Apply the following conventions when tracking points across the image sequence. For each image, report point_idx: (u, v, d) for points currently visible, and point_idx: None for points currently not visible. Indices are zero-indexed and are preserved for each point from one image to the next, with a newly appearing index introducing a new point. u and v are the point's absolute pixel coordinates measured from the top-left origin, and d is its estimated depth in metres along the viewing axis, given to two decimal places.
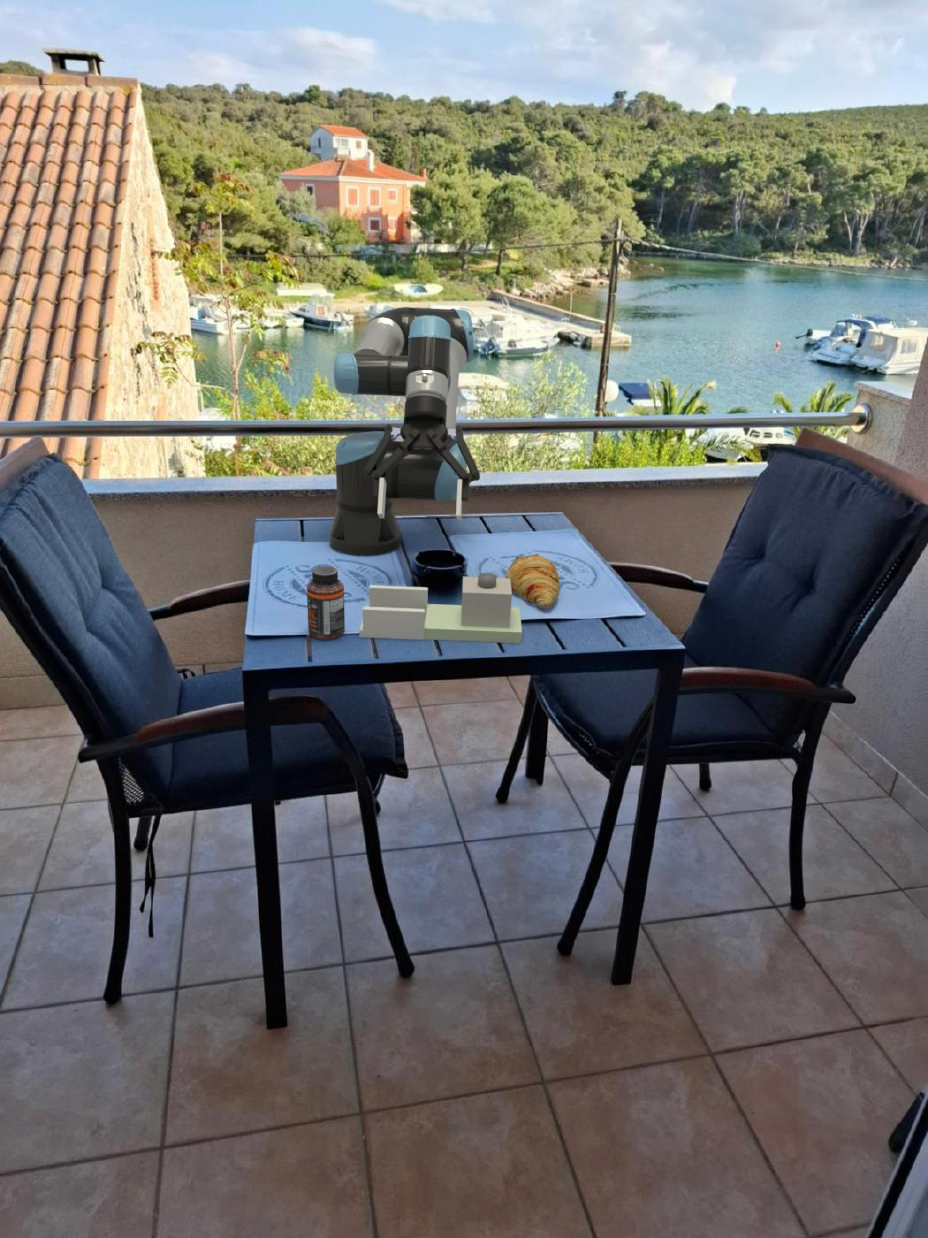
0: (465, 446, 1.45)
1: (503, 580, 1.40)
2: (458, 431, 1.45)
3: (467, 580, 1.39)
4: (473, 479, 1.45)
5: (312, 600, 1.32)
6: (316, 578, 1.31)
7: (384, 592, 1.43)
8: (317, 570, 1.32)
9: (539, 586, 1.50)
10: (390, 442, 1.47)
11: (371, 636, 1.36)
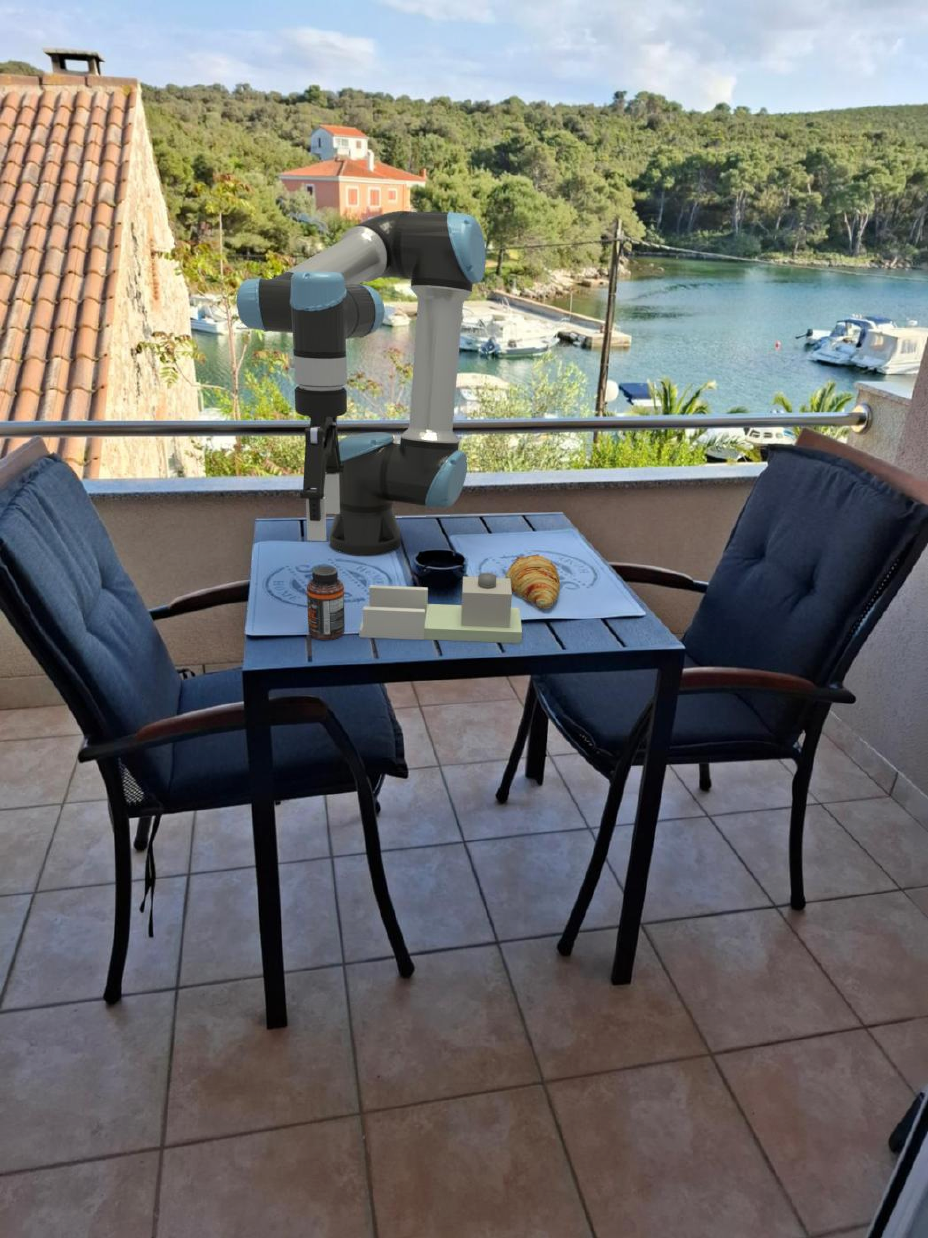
0: (305, 456, 1.18)
1: (503, 580, 1.40)
2: None
3: (467, 580, 1.39)
4: (312, 498, 1.18)
5: (312, 600, 1.32)
6: (316, 578, 1.31)
7: (384, 592, 1.43)
8: (317, 570, 1.32)
9: (539, 586, 1.50)
10: None
11: (371, 636, 1.36)
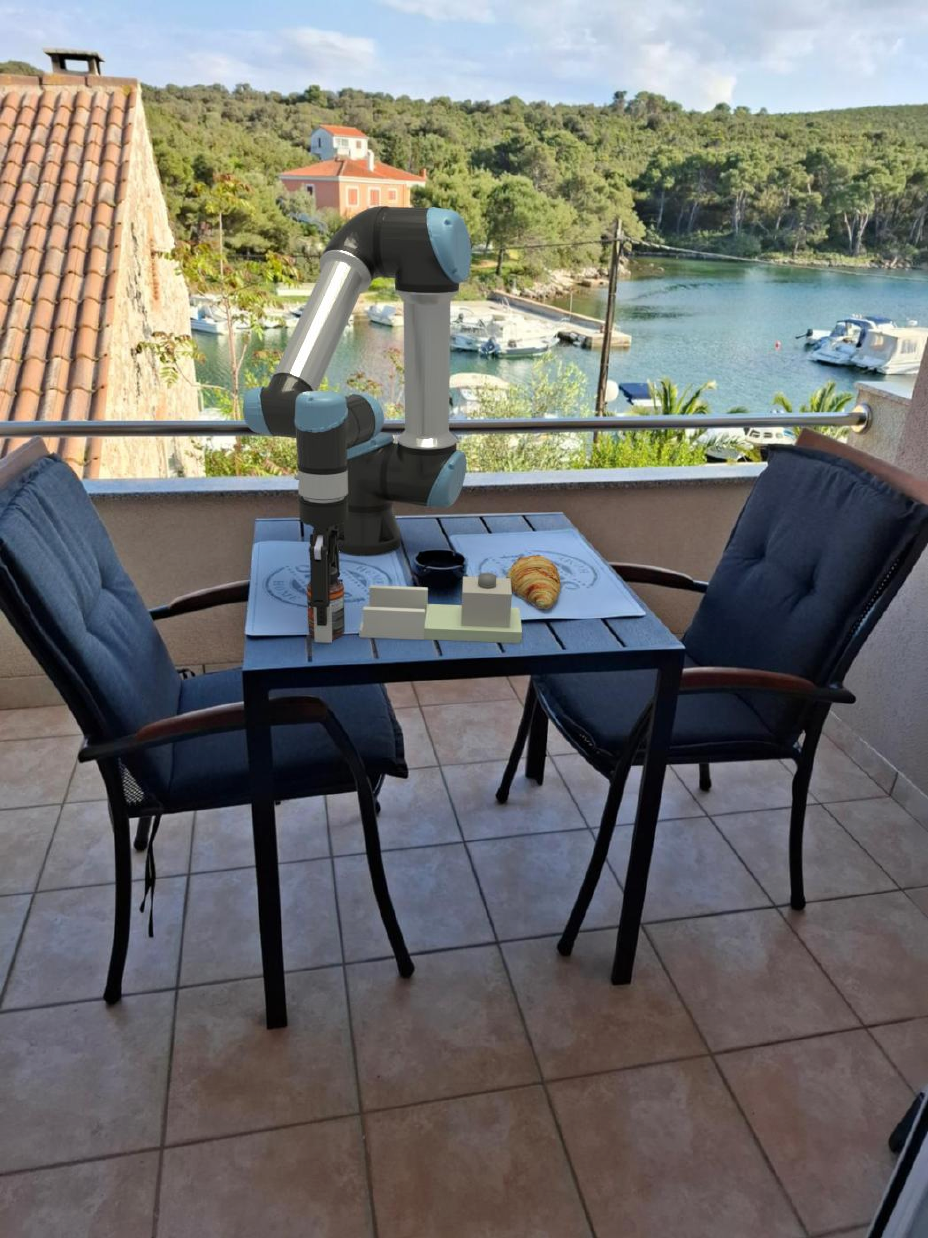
0: None
1: (503, 580, 1.40)
2: None
3: (467, 580, 1.39)
4: None
5: None
6: None
7: (384, 592, 1.43)
8: None
9: (539, 586, 1.50)
10: None
11: (371, 636, 1.36)
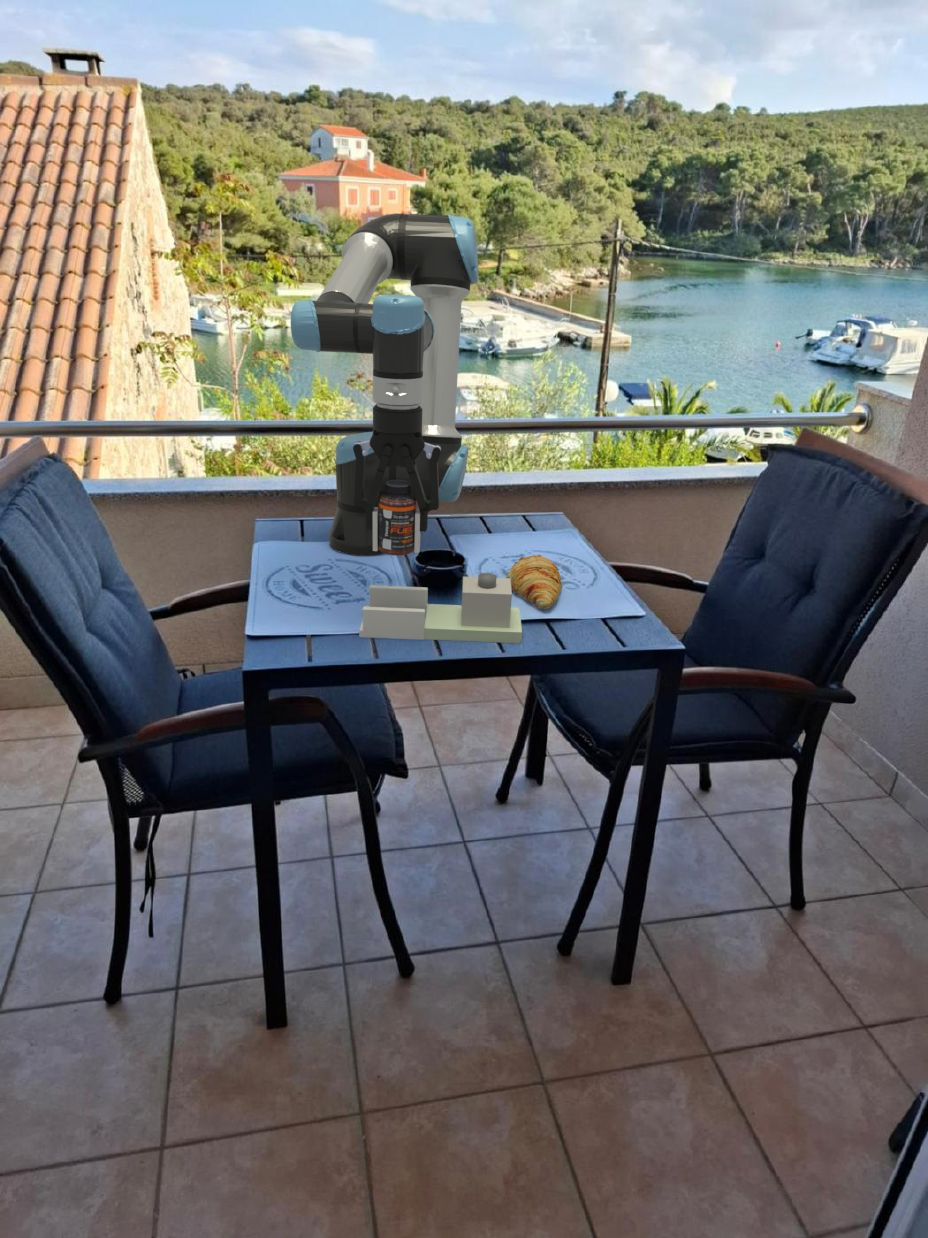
0: (435, 474, 1.29)
1: (503, 580, 1.40)
2: (434, 454, 1.28)
3: (467, 580, 1.39)
4: None
5: (411, 513, 1.31)
6: (408, 489, 1.30)
7: (384, 592, 1.43)
8: (399, 484, 1.30)
9: (539, 586, 1.50)
10: (364, 459, 1.29)
11: (371, 636, 1.36)
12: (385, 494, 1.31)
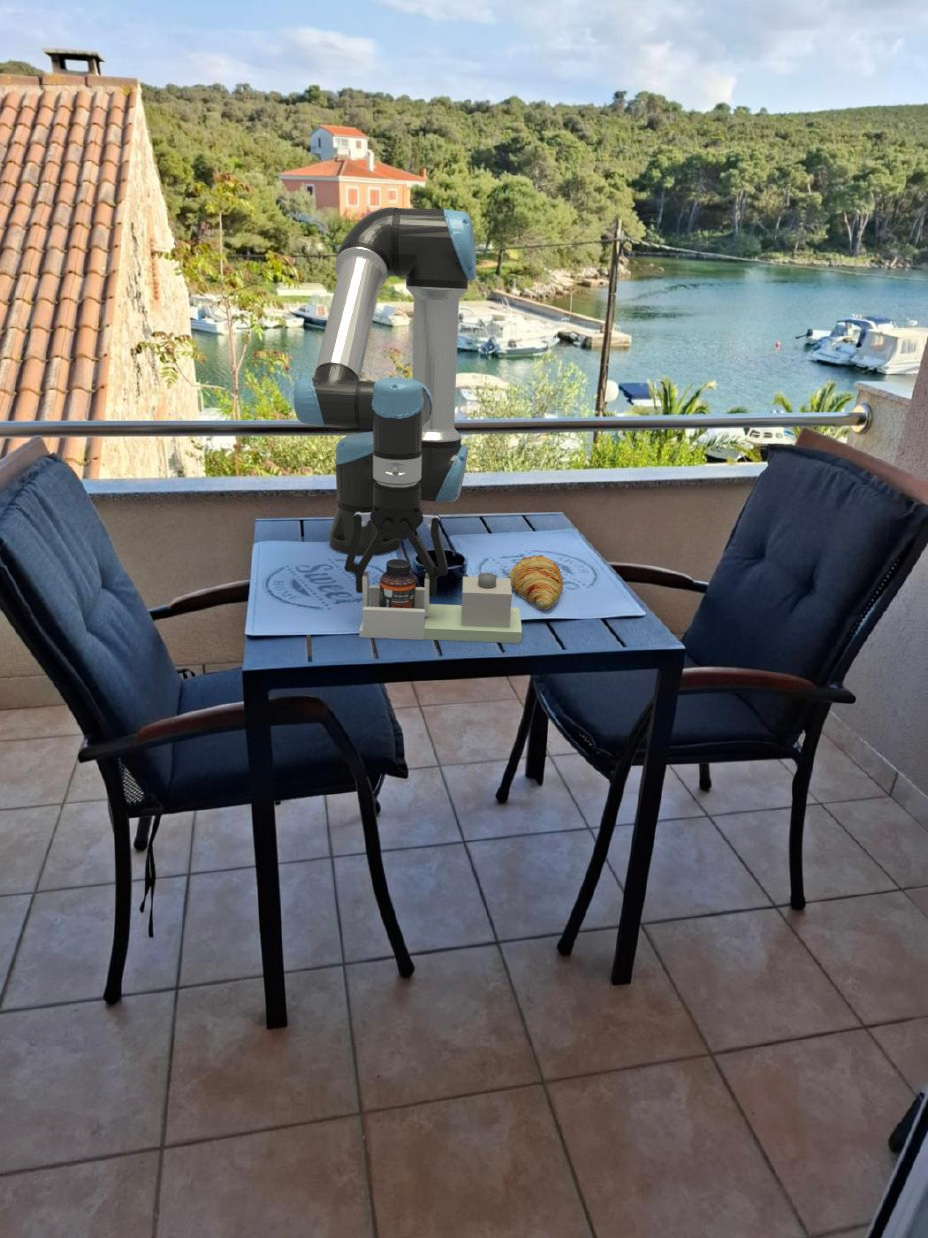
0: (438, 542, 1.34)
1: (503, 580, 1.40)
2: (434, 525, 1.32)
3: (467, 580, 1.39)
4: None
5: (411, 592, 1.37)
6: (408, 570, 1.36)
7: None
8: (399, 565, 1.35)
9: (540, 586, 1.50)
10: (362, 528, 1.34)
11: (371, 636, 1.36)
12: (386, 574, 1.36)
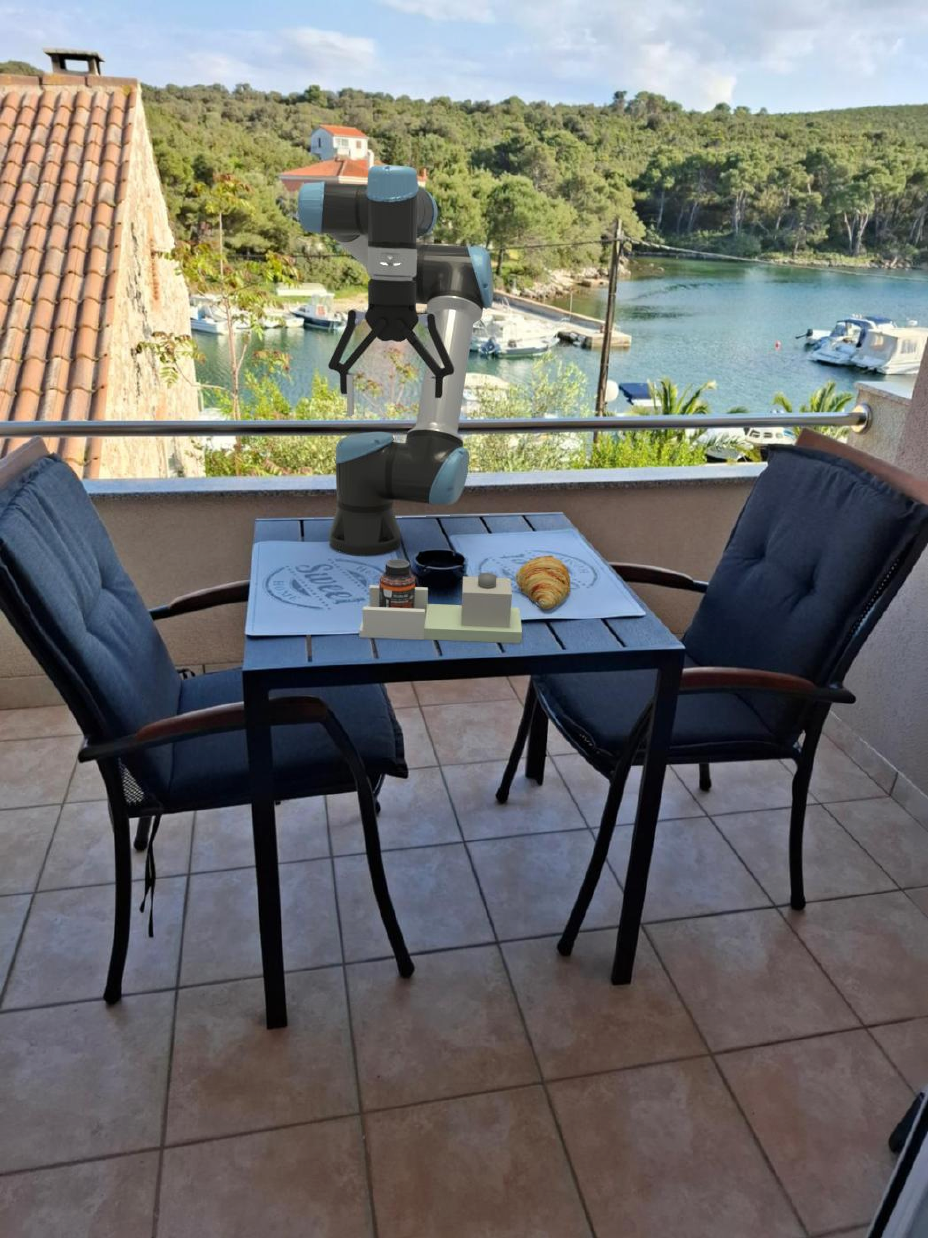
0: (438, 339, 1.32)
1: (503, 580, 1.40)
2: (430, 320, 1.31)
3: (467, 580, 1.39)
4: (447, 374, 1.35)
5: (410, 592, 1.37)
6: (407, 570, 1.36)
7: None
8: (398, 565, 1.35)
9: (544, 586, 1.50)
10: (354, 327, 1.33)
11: (371, 636, 1.36)
12: (385, 574, 1.36)
